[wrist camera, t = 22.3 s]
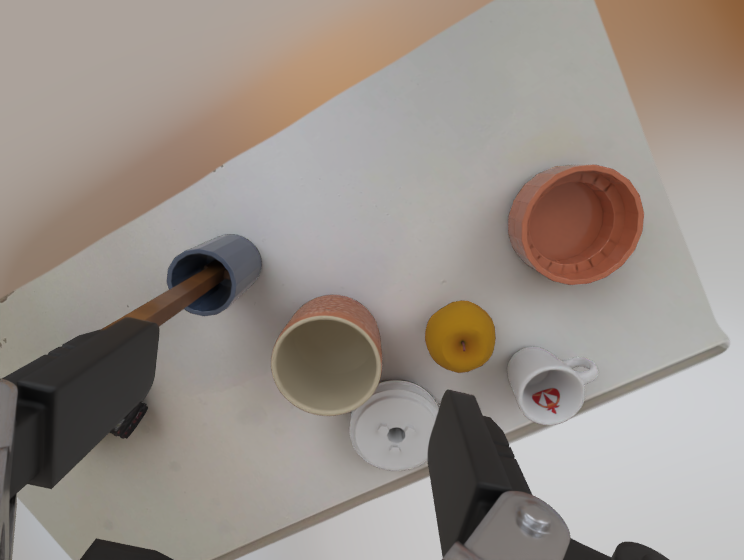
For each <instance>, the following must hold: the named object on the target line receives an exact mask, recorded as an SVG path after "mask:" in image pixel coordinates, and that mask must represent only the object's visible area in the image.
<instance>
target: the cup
mask: <svg viewBox="0 0 744 560" xmlns="http://www.w3.org/2000/svg"><path fill="white" fill-rule="evenodd" d="M575 367H586V368H588V369H589V370H587V371H583V372H578V371H575V370H573V368H575ZM507 374H508V379H509V382H510V385H511V387H512V390H513V393H514V395H515V398H516V401H517V403H518V406H519V408H520V410H521V411H522V413H523V414H524V415H525V416H526V417H527V418H528V419H529V420H531V421H533V422H535V423H538V424H542V425H556V424H560V423H563V422H565V421H567V420H569V419H570V418H572V417H573V416H574V415H575V414H576V413H577V412H578V411H579V410H580V408H581V407H582V405H583V403H584V399H585V386H584V385H585V384H588V383H590V382H592V381H594V380H595V379H596V378H597V377H598V374H599V372H598V368H597V366H596V364H595V363H594V362H593V361H591V360H590V359H588V358H585V357H573V358H570V359H567V360H564V361H561V360H559V359H558V358H557V357H556V356H554V355H553V354H552V353H550V352H549V351H547V350H545V349H543V348H539V347H527V348H524V349H521V350H519V351H518V352H516V353H515V354H514V355H513V356H512V358H511V359H510V361H509V363H508V368H507Z"/></svg>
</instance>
